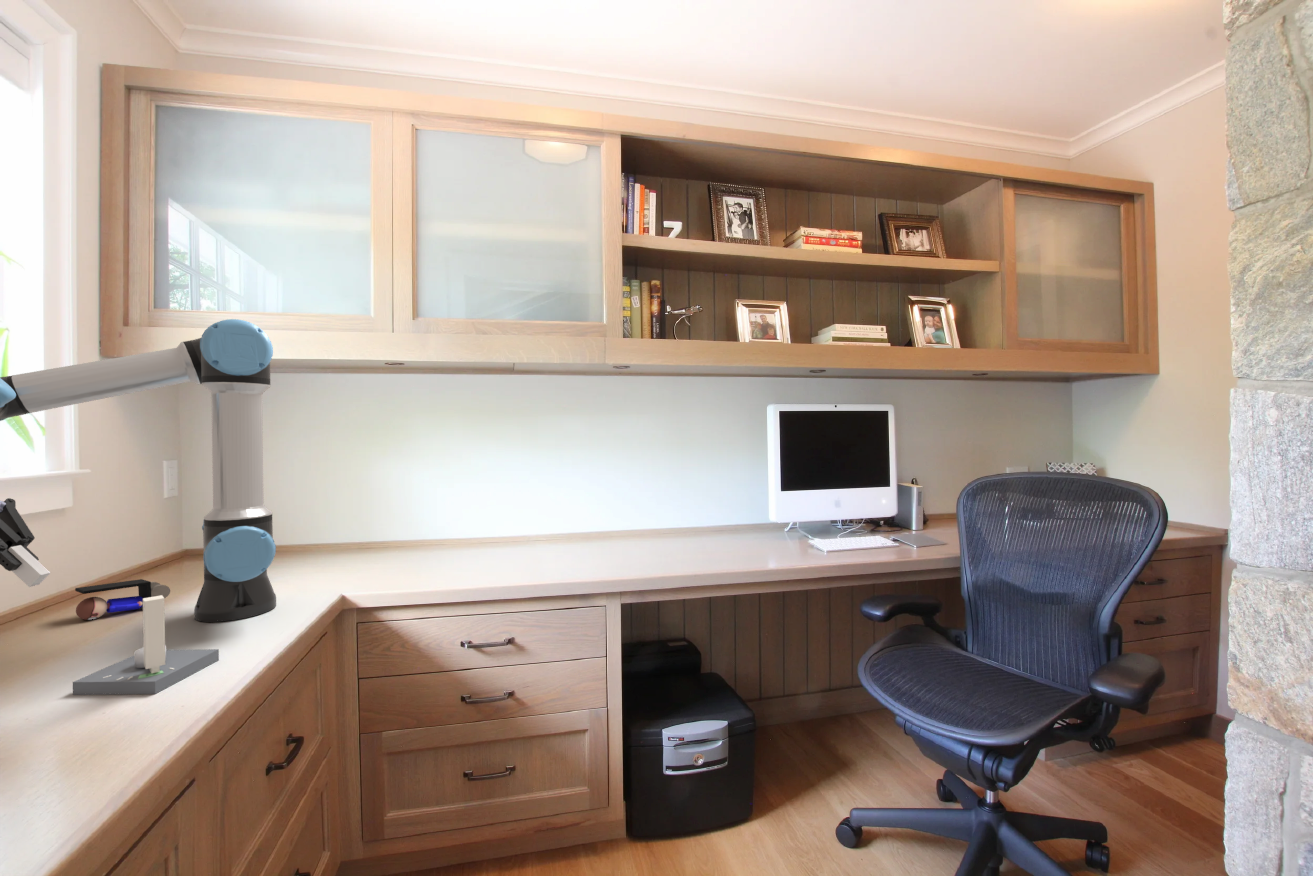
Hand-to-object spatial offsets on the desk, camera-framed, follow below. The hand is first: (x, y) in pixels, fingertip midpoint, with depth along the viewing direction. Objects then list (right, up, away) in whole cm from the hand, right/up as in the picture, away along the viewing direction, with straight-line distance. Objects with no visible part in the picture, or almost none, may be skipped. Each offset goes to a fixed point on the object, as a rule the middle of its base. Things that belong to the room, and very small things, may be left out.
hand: (40, 579), depth 90 cm
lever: (+15, -15, +4) cm, 22 cm away
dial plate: (+13, -18, +5) cm, 23 cm away
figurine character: (-23, -18, +39) cm, 49 cm away
